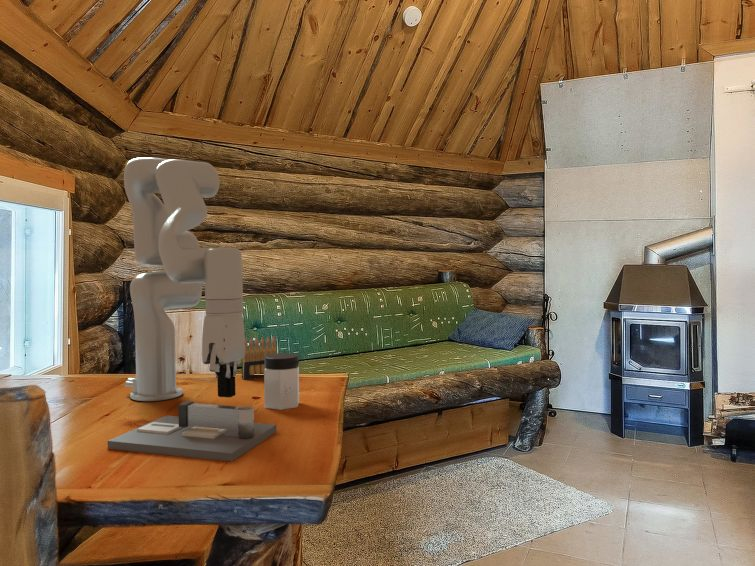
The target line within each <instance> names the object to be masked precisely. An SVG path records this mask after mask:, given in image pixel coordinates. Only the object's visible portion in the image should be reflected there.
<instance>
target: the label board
mask: <svg viewBox="0 0 755 566" xmlns="http://www.w3.org/2000/svg"><path fill="white" fill-rule="evenodd" d="M276 433H277V424H272V423H261V422H260V423H259V422H254V436H253V437H250V438H240V437H238V430H228V429H217V428H206V427H194V426H188V427H179V415H178V416H176V415H174V416H173V415H165V416H162V417H160V418H157V419H155V420H153V421H150V422H148V423H145V424H144V425H141V426H139V427H137V428H134V429H131V430H129V431H127V432H125V433H122V434H120V435H118V436H116V437H115V436H114V437H113V438H111V439H108V440H107V449H109V450H115V451H116V450H117V451H118V450H119V451H128V452H135V453H136V452H137V453H147V454H154V455H155V454H156V455H164V456H166V455H167V456H175V457H183V458H192V459H193V458H194V459H203V460H211V461H213V460H214V461H222V462H234V461H235V460H237V459H238V458H239V457H241V456H243V455H244V454H246V453H247V452H248V451H250V450H252V449H253V448H254V447H257V445H260V444H261V443H262V442H264V441H265V440H266V439H268V438H270V437H271V436H273V435H274V434H276Z"/></svg>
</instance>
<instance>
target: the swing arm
mask: <svg viewBox="0 0 755 566" xmlns="http://www.w3.org/2000/svg"><path fill="white" fill-rule="evenodd" d="M177 405H178V408H177V409H178V417H179V427H188V426H194V427H206V428H217V429H228V430H238V437H240V438H250V437H253V436H254V423H255V407H253V406H238V405H237V406H235V405H222V404H210V403H209V404H208V403H196V402H194V401H192V400H191V401H190V400H186V401H184V402H182V403H179V404H177Z"/></svg>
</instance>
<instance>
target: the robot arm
mask: <svg viewBox="0 0 755 566" xmlns="http://www.w3.org/2000/svg"><path fill="white" fill-rule="evenodd" d="M123 172H124V173H123V185H124V190H125V194H126V197H127V199H128V202H129V205H130V209H131V213H132V226H133V229H132V230H133V244H134V246H133V247H134V256H135V259H136V262H137V263H138V264H139V265H140V266H143V267H150V268H151V267H152V268H161V267H163V268H164V271H153V272H152V271H151V272H144V273H139V274H137V275H136V276H134V277H133V278H132V280H131V282H130V285H129V292H130V298H131V304H132V308H133V309H132V310H133V317H134V335H135V338H134V339H135V340H134V341H135V377H128V378H127V380H126V381H125V382H124V386H125V387H130V388H132V391H131V392H130V393H129V398H130V399H132V400H134V401H139V402H158V401H166V400H171V399H174V398H175V399H176V398H177V397H180V396H182V394H183V389H182V387H179V386H177V379H176V378H177V375H176V374H177V369H176V367H177V366H176V328H175V323H174V321H173V320H172V319H171V318H170V317H169V316H168V314H167V313H166V312H165V311H166V310H172V309H173V310H174V309H184V308H185V309H188V308H193V307H195V306H197V305H198V304H199V303H200V302H201V298H202V295H203V294H202V292H203V285H202V283H203V284H204V297H205V298H204V299H205V300H204V301H205V302H204V303H205V304H204V305H205V306H204V307H205V315H204V318H203V325H202V335H201V336H202V338H201V361H202V363H203V364H204V365H209V372H212V373H215V378H216V379H217V396H218V397H219V398H233V397H234V396H236V394H237V393H236V376H237V368H238V366H239V365H240V364H241V363H242V360H243V357H244V356H245V338H246V336H245V325H244V317H243V315H244V297H243V296H244V295H243V294H244V291H243V288H244V287H243V285H244V283H243V257H242V256H243V255H242V252H241V250H240V249H239V248H237V247H200V244H199V240H198V239H197V236H196V235H195V234H194V233H192V232H191V231H190V230H192V229H194V228H196V227H198V226H199V225H201V224H202V223H203V222H204V221H205V220H206V218H207V216H208V208H207V205H206V203H205V201H204V198H205V199H207V198H208V199H209V198H213V197H214V196H216V195H217V194H218V192H219V189H220V177H219V173H218V171H217V169H216V168H215V167H214V166H213V165H212V164H211V163H209V162H204V161H195V160H186V159H176V158H175V159H168V158H160V157H136V158H132V159H130V160H129V161H128V162H127V163H126V164H125V167H124V171H123ZM157 193H158V194H160V196H161V199H162V200H161V199H160V198H159V197H158V196H157V195H156V194H157Z"/></svg>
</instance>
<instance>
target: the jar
mask: <svg viewBox="0 0 755 566" xmlns="http://www.w3.org/2000/svg"><path fill="white" fill-rule="evenodd" d="M264 361H265V369H264V378H263V380H264V381H263V382H264V385H263V386H264V387H263V391H264V400H263V401H264V408H265V409H270V410H271V409H272V410H277V411H278V410H279V411H281V410H283V411H284V410H288V409H295V408H298V407H299V404H300V364H299V363H300V358H299V354H297V353H291V352H290V353H289V352H281V353H280V352H278V353H276V354H269V355H266V354H265V357H264Z"/></svg>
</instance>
